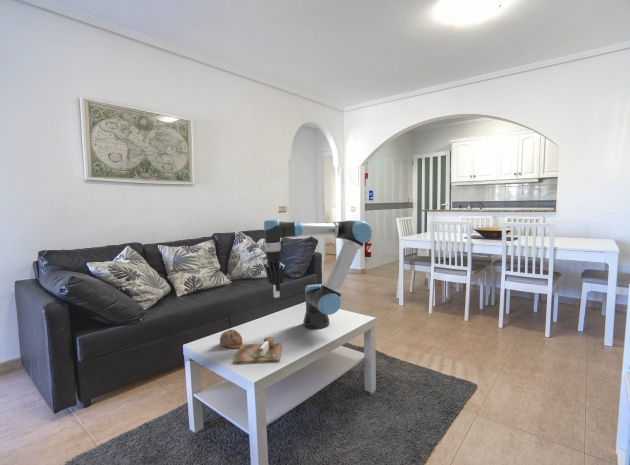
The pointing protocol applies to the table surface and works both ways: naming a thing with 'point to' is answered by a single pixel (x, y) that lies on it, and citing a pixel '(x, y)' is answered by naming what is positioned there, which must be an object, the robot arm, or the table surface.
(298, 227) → the robot arm
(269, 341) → the lever
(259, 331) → the table surface
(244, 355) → the dial board
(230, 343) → the seashell
